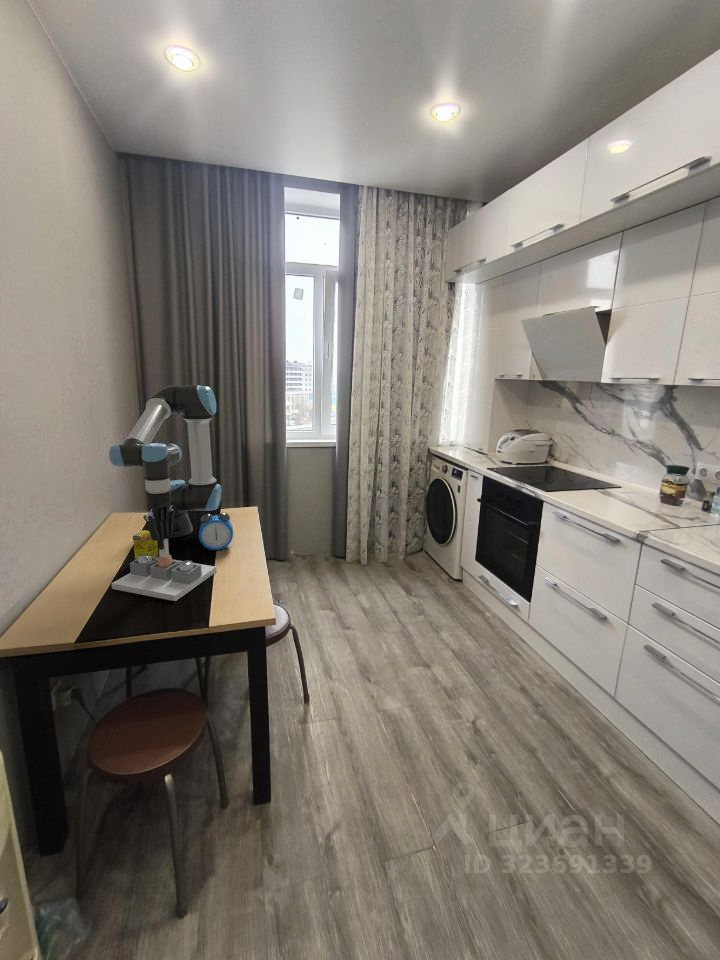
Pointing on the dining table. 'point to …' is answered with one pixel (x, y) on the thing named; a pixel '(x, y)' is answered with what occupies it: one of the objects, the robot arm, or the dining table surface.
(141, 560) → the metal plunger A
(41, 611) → the dining table surface
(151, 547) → the supplement box
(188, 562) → the silver egg
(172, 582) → the button board
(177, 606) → the dining table surface
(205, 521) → the alarm clock
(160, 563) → the brown egg
